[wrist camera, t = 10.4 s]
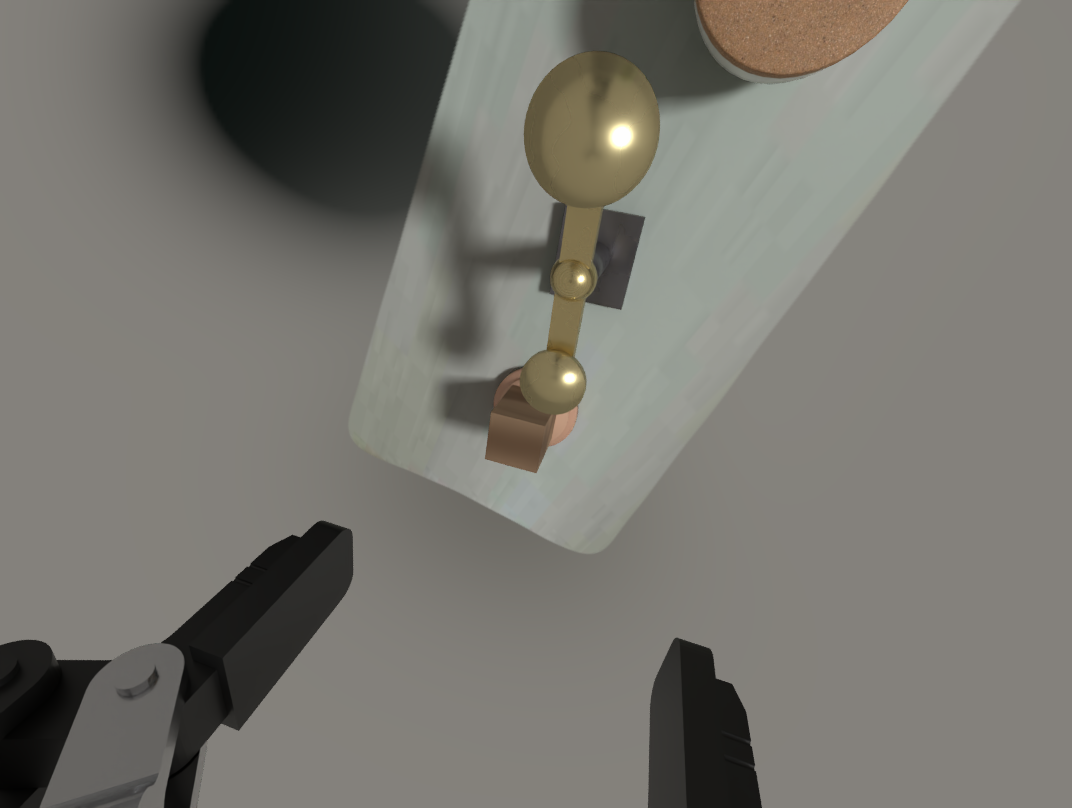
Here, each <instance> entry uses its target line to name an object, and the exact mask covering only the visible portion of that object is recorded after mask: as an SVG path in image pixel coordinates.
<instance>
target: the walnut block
mask: <svg viewBox="0 0 1072 808" xmlns="http://www.w3.org/2000/svg"><path fill="white" fill-rule="evenodd" d="M555 419H556V415H551V414H546V413H543V412H540V411H538V410H536V409H535V408H533V407H532V406H531V405H530V404H529V403H528V402H527V401H526V399H525V398H524V396H523V394H522V392H521V388H520V386H516V385H512V386H511V387H510V388H509V390H508V391H507V392H506V394H505V395H504V396H503V397H502V399H501V400H500V401H499V403H498V404H497V405H496V406H495V408H494V409H493V410H492V412H491V416H490V424H489V432H488V440H487V447H486V455H485V459H487V460H490V461H494V462H498V463H501V464H505V465H508V466H512V467H516V468H519V469H523V470H526V471H530V472H534V473H537V471H538V468H539V466H540V464H541V462H542V459H543V457H544V455H545V453H546V450H547V448H548V446H549V444H550V441H551V439H552V434H553V429H554V424H555Z"/></svg>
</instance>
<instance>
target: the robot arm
mask: <svg viewBox="0 0 1072 808" xmlns="http://www.w3.org/2000/svg"><path fill="white" fill-rule="evenodd" d="M352 577H353V536H352V531H351V530H350V529H347V528H344V527H341V526H338V525H335V524H332V523H329V522H326V521H319V522H317V523H316V524H314V525H313V526H312V527H311V528H310V529H309V530H308V531H307V532H306V533H305V534H304V535H303V536H302V537H297V536H294V535H291V536H289V537H287V538H286V539H284V540H281V541H279V542H277V543H275V544H273V545H272V546H270V547H268V548H267V549H266V550H265V551H264V552H263V553H262V554H261V555H259V556H258V557H257V558H256V559H255V560H254V561H253V562H252V563H251V565H250V566H249V567H246V568H245V569H244V570H243V571H242V572H241V573H240V574H238V575H237V576H236V578H235V580H234V581H231V582H230V583H228V584H227V585H226V586H225V587H224V588H223V589H222V590H221V591H220V592H219V593H217V595H215V596H214V597H213V598H212V599H211V600H210V601H209V602H207V603H206V604H205V606H203V607H202V608H201V609H200V610H199V611H198V612H196V613H195V614H194V615H193V616H192V617H191V618H190V619H189V620H188V621H186V622H185V623H184V624H183V625H182V626H181V627H180V628H179V629H178V630H177V631H175V633H173V634H172V635H171V636H170V637H168V638H167V639H166V640H164V641H163V642H161V643H155V644H148V645H144V646H140V647H137V648H134V649H132V650H130V651H128V652H125V653H123V654H122V655H120V656H118V657H117V658H115V659H114V660H105V661H104V660H102V661H101V660H56V658H55V656H54V654H53V652H52V650H51V648H50V646H49V645H47V644H46V643H44V642H42V641H37V640H21V641H16V642H11V643H7V644H4V645H0V808H197V804H198V798H199V792H200V786H201V780H202V774H203V767H204V762H205V755H206V750H207V740H208V739H209V737H210V736H211V735H212V734H213V733H214V731H215V730H216V729H217V727H218V726H219V725H220V724H224V725H227V726H229V727H231V728H234V729H236V730H238V731H239V730H240V728H241V727H242V726H243V724H244V723H245V722H246V721H247V720H248V718H249V717H250V716H251V714H252V713H253V712H254V711H255V709H256V708H257V707H258V705H259V704H260V703H261V702H262V700H263V699H264V698H265V696H266V695H267V694H268V693H269V691H270V690H271V689H272V688H273V686H274V685H275V684H276V683H277V681H278V680H279V679H280V677H281V676H282V675H283V674H284V672H285V671H286V670H287V669H288V667H289V666H290V665H291V663H292V662H293V661H294V659H295V658H296V657H297V656H298V654H299V653H300V652H301V651H302V649H303V648H304V647H305V646H306V644H307V643H308V642H309V640H310V639H311V638H312V637H313V635H314V634H315V633H316V632H317V630H318V629H319V628H320V626H321V625H322V624H323V623H324V621H325V620H326V619H327V617H328V616H329V615H330V614H331V612H332V611H333V610H334V609H335V607H336V606H337V605H338V603H339V602H340V601H341V600H342V598H343V597H344V595H345V594H346V592H347V590H348V588H349V586H350V583H351V580H352ZM750 742H751V738H750V733H749V726H748V720H747V714H746V711H745V709H744V707H743V705H742V703H741V701H740V699H739V697H738V695H737V693H736V691H735V689H734V687H733V685H732V684H730V683H728V682H725V681H722V680H719V679H716V677H715V668H714V659H713V654H712V651H711V650H710V649H709V648H706V647H704V646H701V645H698V644H695V643H691V642H688V641H685V640H682V639H679V638H675V639H674V640H673V642H672V644H671V646H670V649H669V651H668V653H667V655H666V657H665V659H664V661H663V663H662V666H661V668H660V670H659V672H658V674H657V677H656V679H655V682H654V686H653V690H652V695H651V704H650V745H649V793H648V794H649V795H648V808H762V806H761V799H760V793H759V788H758V781H757V775H756V771H754V766H755V763H754V757H753V751H752V747H751V746H750Z"/></svg>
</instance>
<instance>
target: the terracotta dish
mask: <svg viewBox="0 0 1072 808" xmlns="http://www.w3.org/2000/svg"><path fill="white" fill-rule="evenodd" d="M522 369H523V368H520V369H517V370H515V371H513V372H512V373H510V374H509V375H508V376H507V377H506V378H505V379H504V380H503V381H502V382H501V384H500V385H499V387H498V388H497V390H496V393H495V397H494V408H495V406H496V405H497V404H498V403H499V401H500V400H501V399H502V397H503V396H504V395H505V394H506V392H507V391H508V390H509V388H510V387H511V386H512V385H516V386H520V374H521V371H522ZM577 415H578V405H577V406H576V407H575V408H574V409H573V410H571V411H569V412H567V413H564V414H559V415H556V419H555V424H554V429H553V434H552V439H551V441H550V444H549V446H552V445H555V444H557V443H559V442H561V441H562V440H564V439H565V438H566V437H567V436H568V435H569V434H570V432H571V431H572V429H573V427H574V425H575V422H576V419H577ZM549 446H548V447H549Z"/></svg>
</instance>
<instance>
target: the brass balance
mask: <svg viewBox="0 0 1072 808" xmlns="http://www.w3.org/2000/svg"><path fill="white" fill-rule="evenodd" d="M659 133H660V115H659V109H658V103H657V100H656V97H655V94H654V91H653V89H652V87H651V85H650V83H649V82H648V80H647V78H646V77H645V75H644V74H643V73H642V72H641V71H640V70H639V68H637V67H636V66H635V65H634V64H633V63H632V62H630V61H628V60H627V59H625V58H624V57H621V56H619V55H617V54H614V53H609V52H604V51H591V52H584V53H580V54H577V55H574V56H572V57H570V58H568V59H566V60H564V61H563V62H561V63H560V64H558V65H557V66H556V67H555V68H553V69H552V70H551V71H550V72H549V73H548V74H547V75H546V76H545V78H544V79H543V80H542V82H541V83H540V84H539V86H538V88H537V89H536V91H535V93H534V95H533V97H532V99H531V102H530V104H529V107H528V111H527V114H526V119H525V126H524V145H525V152H526V156H527V160H528V163H529V166H530V169H531V171H532V173H533V175H534V177H535V179H536V180H537V181H538V183H539V184H540V186H541V187H542V188H543V189H544V190H545V191H546V192H547V193H548V194H549V195H550V196H552V197H553V198H554V199H556V200H558V201H559V202H561V203H564V204H566V206H565V212H564V217H563V223H562V228H561V234H560V239H559V245H558V250H557V256H556V261H555V264H554V265H553V267H552V269H551V273H550V283H551V289H550V294H554V302H553V309H552V316H551V323H550V330H549V337H548V344H547V350H543V351H540V352H538V353H536V354H535V355H533V356H532V357H531V358H530V359H529V360H528V361H527V363H526V364H525V365H524V367H523V369H522V371H521V374H520V388H521V392H522V394H523V396H524V398H525V399H526V401H527V402H528V403H529V404H530V405H531V406H532V407H533V408H535V409H536V410H538V411H540V412H543V413H546V414H551V415H559V414H564V413H567V412H569V411H571V410H573V409H574V408H575V407H576V406H577V405H578V404H579V403H580V401H581V400H582V398H583V395H584V393H585V390H586V375H585V372H584V369H583V367H582V366H581V364H580V363H579V362H578V360H577V359H576V358H575V353H576V347H577V342H578V337H579V332H580V327H581V322H582V316H583V311H584V306H585V302H589V303H594V304H598V305H602V306H607V307H611V308H616V309H620V310H621V309H622V305H623V302H624V298H625V294H626V290H627V286H628V282H629V278H630V274H631V271H632V267H633V263H634V259H635V255H636V251H637V247H638V243H639V239H640V236H641V232H642V228H643V224H644V220H645V217H643V216H638V215H633V214H628V213H623V212H618V211H613V210H608V209H603V207H604V206H606V205H609V204H612V203H614V202H616V201H618V200H620V199H621V198H623V197H624V196H626V195H627V194H628V193H630V192H631V191H632V190H633V189H634V188H635V187H636V186H637V185H638V184H639V183H640V182H641V180H642V179H643V178H644V176H645V175H646V173H647V171H648V170H649V168H650V166H651V164H652V161H653V159H654V157H655V153H656V150H657V146H658V141H659Z"/></svg>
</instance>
